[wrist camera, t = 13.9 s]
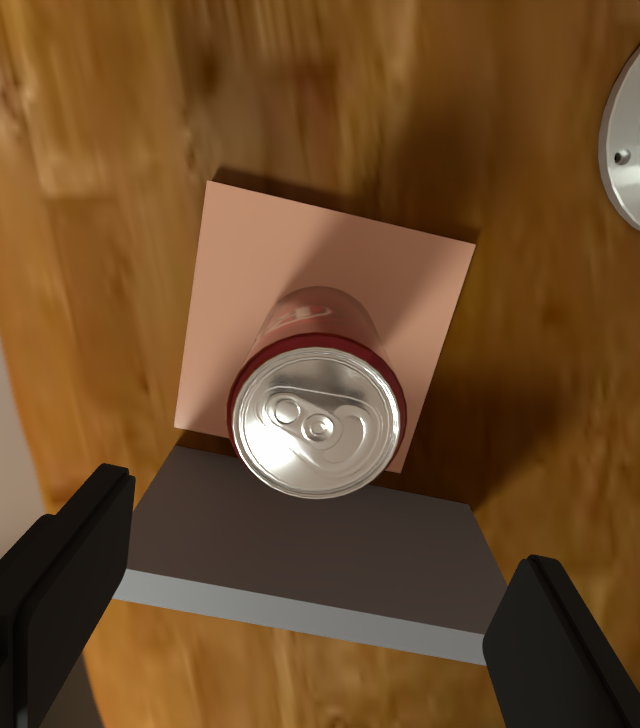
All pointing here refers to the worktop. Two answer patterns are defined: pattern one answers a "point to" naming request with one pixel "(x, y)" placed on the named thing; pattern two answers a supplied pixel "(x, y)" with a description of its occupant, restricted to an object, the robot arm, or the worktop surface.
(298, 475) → the soda can
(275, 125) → the worktop surface
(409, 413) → the tile
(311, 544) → the screen
